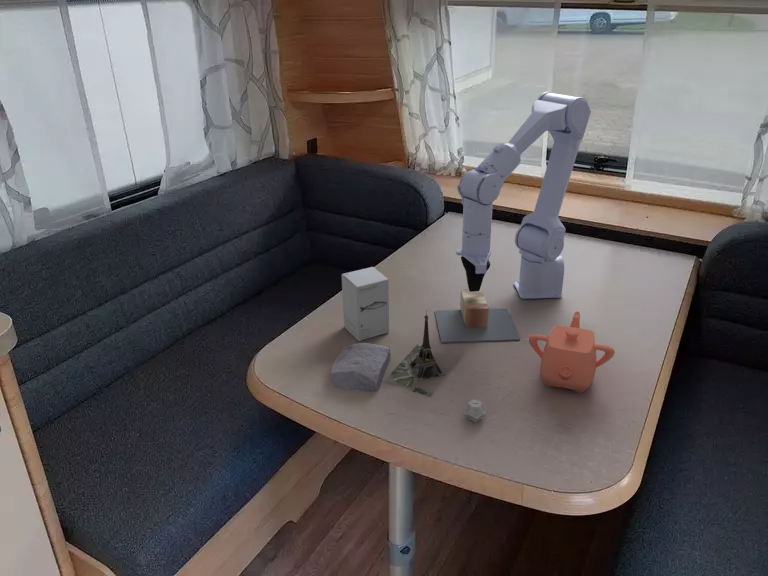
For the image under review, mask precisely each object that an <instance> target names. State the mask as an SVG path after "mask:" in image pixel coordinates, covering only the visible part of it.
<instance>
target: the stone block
mask: <svg viewBox="0 0 768 576" xmlns="http://www.w3.org/2000/svg"><path fill="white" fill-rule="evenodd" d="M391 355H392V354H391V348H390V347H389V346H385V345H381V344H375V343H368V342H359V343H352V344H351V345H346V346H345V347H343V348H342V350H341V352H339V354H338V355H337V356H336V359H335V360H334V363H333V364H332V366H331V372H330V380H331V382H332V384H333V385H334V387H335V388H337V389H341V390H345V391H362V392H378V390H379V389H380V387H381V385H382V382H383V379H384V376H385V374H386V372H387V368H388V366H389V363H390V361H391Z"/></svg>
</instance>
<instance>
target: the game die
mask: <svg viewBox="0 0 768 576" xmlns="http://www.w3.org/2000/svg"><path fill="white" fill-rule="evenodd" d="M463 412H464V413H463V414H464V416H465V417H466V419H468V420H469V421H471V422H475V423H477V422H478V421H480V420H482V419H483V418H484V417H485V416H486V415H487V412H486V406H485V405H484V403H483V402H482V401H480V400H478V399H475V398H474V399H472V400H470V401H468V402H467V403H466V404H465V405H464V407H463Z"/></svg>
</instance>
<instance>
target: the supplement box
mask: <svg viewBox="0 0 768 576" xmlns="http://www.w3.org/2000/svg"><path fill="white" fill-rule="evenodd" d="M340 275H341V290H342V294H341V295H342V307H343V308H342V311H343V328H345V329H346V330H347V331H348V332H349V333H350V335H352V336H353V337H354V339H356V341H358V342H360V341H364V340H367V339H370V338H374V337H377V336H381V335H385V334H389V333H390V307H389V305H390V301H389V294H390V293H389V291H390V290H389V278H388V277H386V276H385V275H384V274H383V273H382V272H380V271H379V270H377V269H376V268H375V267H374V266H370V267H367V268H361V269H358V270H357V269H356V270H354V271H349V272H345V273H342V274H340Z"/></svg>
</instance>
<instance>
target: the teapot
mask: <svg viewBox="0 0 768 576" xmlns="http://www.w3.org/2000/svg"><path fill="white" fill-rule="evenodd" d="M580 319H581V313H580V312H579V311H575V312H574V313H573V316H572V320H571V323H570V326H569V325H568V326H566V325H559V324H556V325H554V326H553V327H552V329H551V331H550V333H549V335H544V334H538V333H537V334H536V333H535V334H534V333H533V334H530V335H529V336H528V343H529V345H530V347H531V348H532V349H533V351H534V353H536V355H538V357H540V367H539V369H540V373H539V374H540V376H541V380H542V383H544V385H545V386H546V387H548V388H555V387H558V388H563V389H568V390H573V391H574V392H576V393H580V394H582V393H585V391H587V390H588V389H589V387H590V386H591V383H592V382H593V380H594V378H595V374H596V369H597V368H599V367H601V366H602V365H604V364H605V363H607V362H608V361H610V360H611V359H612V358H613V357H614V355H615V353H616V352H615V349H614V348H613V347H612V346H609V345H605V344H601V343H600V344H599V343H596V340H595V333H594V331H593V330H592V329H591V330H590V329H586V328H580ZM538 341H543V342H546V343H544V347H543V350H542V349H541V348H540V346H539V344H538ZM597 350H598V351H603V352H604V354H603V356H602V357H601V358H599V359H598V360H597Z"/></svg>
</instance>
